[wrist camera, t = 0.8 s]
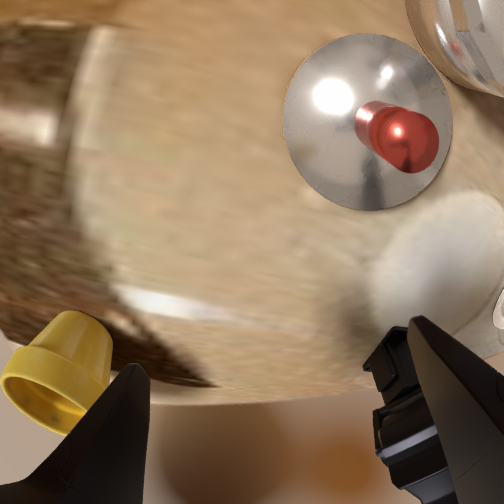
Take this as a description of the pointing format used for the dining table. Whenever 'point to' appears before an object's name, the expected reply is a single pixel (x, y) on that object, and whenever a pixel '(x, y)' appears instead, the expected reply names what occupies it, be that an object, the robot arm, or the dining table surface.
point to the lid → (367, 121)
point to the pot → (463, 40)
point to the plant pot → (60, 371)
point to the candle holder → (499, 313)
